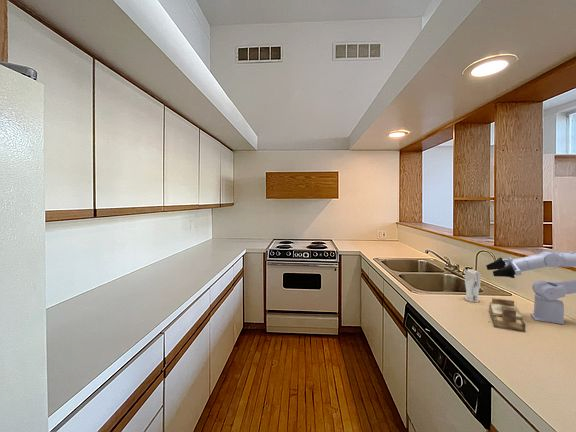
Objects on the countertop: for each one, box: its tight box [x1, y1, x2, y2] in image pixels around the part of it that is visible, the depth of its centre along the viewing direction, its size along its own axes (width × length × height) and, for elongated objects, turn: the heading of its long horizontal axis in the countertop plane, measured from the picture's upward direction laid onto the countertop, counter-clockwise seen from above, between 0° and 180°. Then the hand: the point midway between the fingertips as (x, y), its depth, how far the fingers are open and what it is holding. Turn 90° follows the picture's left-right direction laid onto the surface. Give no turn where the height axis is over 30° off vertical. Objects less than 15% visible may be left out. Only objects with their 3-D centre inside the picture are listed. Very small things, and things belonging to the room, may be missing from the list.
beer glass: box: [464, 269, 482, 303], centre depth 156 cm, size 7×7×15 cm
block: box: [502, 307, 516, 323], centre depth 123 cm, size 4×4×4 cm
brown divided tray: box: [488, 304, 526, 333], centre depth 130 cm, size 10×20×3 cm, turn 152°
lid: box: [489, 297, 523, 319], centre depth 132 cm, size 10×15×3 cm, turn 152°
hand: (490, 270), depth 137 cm, fingers open, 7 cm apart
